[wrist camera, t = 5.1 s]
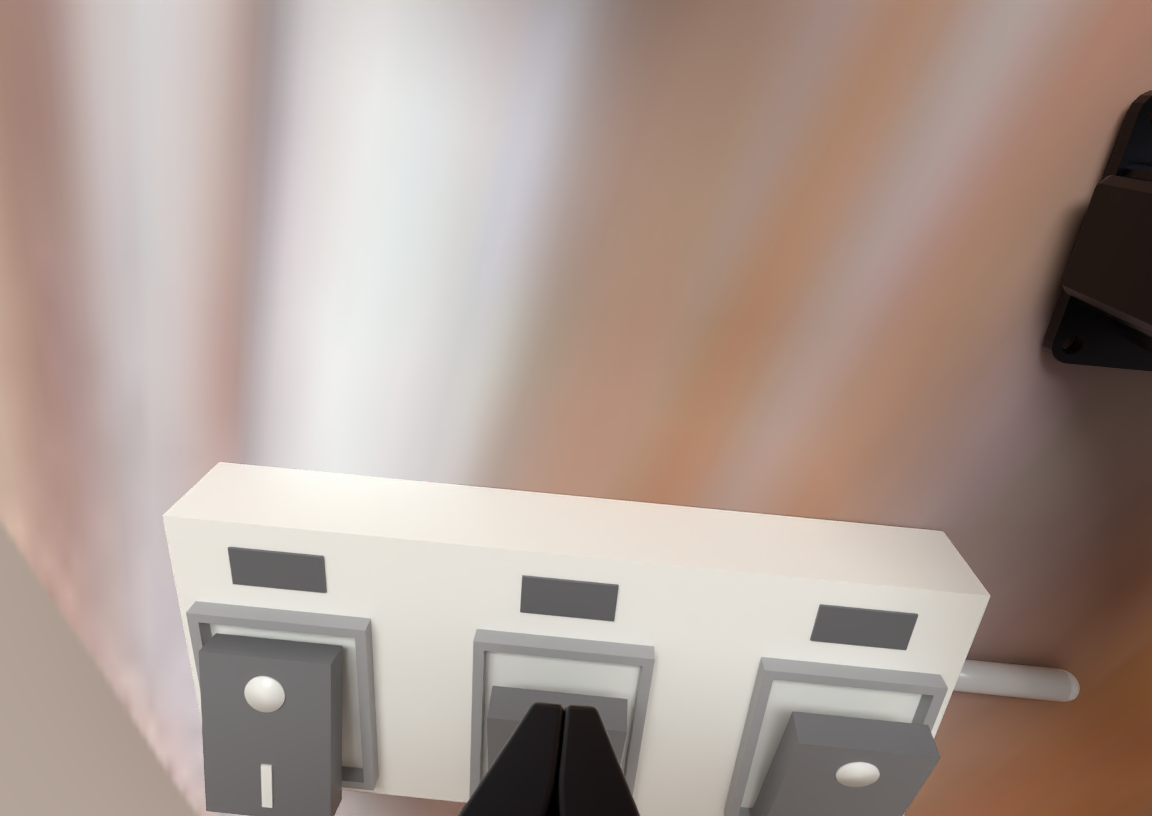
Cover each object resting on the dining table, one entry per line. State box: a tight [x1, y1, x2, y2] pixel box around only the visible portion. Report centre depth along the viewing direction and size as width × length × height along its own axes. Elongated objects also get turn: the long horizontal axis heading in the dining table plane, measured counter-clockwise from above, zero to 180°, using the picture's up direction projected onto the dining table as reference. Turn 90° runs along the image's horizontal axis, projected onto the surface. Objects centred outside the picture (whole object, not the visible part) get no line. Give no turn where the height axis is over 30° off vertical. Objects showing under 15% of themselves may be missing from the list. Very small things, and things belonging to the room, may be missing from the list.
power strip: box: [163, 462, 1080, 816], centre depth 22 cm, size 28×10×4 cm, turn 85°
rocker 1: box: [199, 633, 343, 816], centre depth 20 cm, size 4×5×1 cm
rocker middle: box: [487, 686, 628, 770], centre depth 20 cm, size 4×5×1 cm
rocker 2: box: [752, 711, 940, 816], centre depth 20 cm, size 4×5×1 cm
